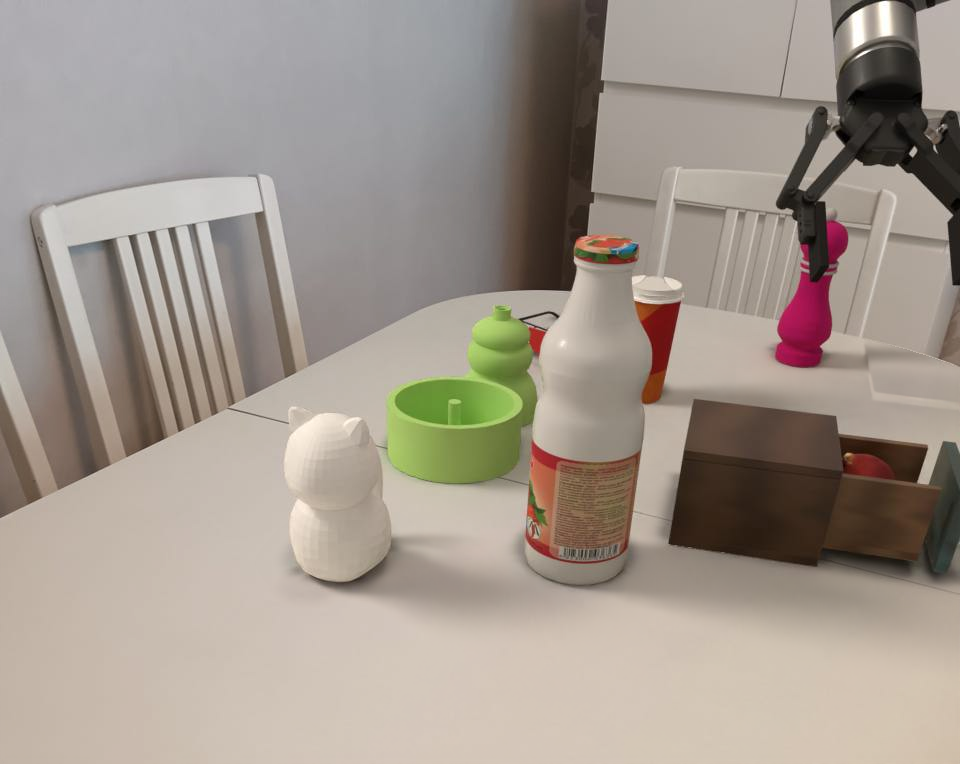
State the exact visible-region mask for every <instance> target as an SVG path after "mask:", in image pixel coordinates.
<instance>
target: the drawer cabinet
mask: <svg viewBox="0 0 960 764" xmlns="http://www.w3.org/2000/svg"><path fill="white" fill-rule="evenodd" d="M689 416H690V417H689V422H688V427H687V432H686V437H685V442H684V447H683V453H682V459H681V465H680V470H679V471H680V472H679V477H678V482H677V489H676V495H675V501H674V507H673V512H672V519H671V524H670V530H669V537H668V542H667V545H668V544H670V545H669V546H674V545H677V546H676V547H681V546H684V547H683V548H688V547H691V548H690V549H695V548H696V549H695V550H701V549H703V551H708V550H709V552H715V551H716V553H721V552H724V553H723V554H728V553H729V555H734V556H735V555H736V556H741V555H743V557H749V558H755V557H756V559H760V560H761V559H762V560H768V561H769V560H770V561H775V562H782V563H789V564H796V565H803V566H808V567H818V565H819V563H820V558H821V555H822V550H823V548H822V547H823V544H824V540H825V536H826V533H827V529H828V526H829V522H830V518H831V515H832V511H833V507H834V504H835V500H836V496H837V493H838V489H839V485H840V482H841V478H842V474H843V464H842V457H841V449H840V441H839V434H840V433H839V426H838V418H837V415H833V414H832V415H831V414H824V413H814V412H807V411H799V410H790V409H782V408H775V407H773V408H772V407H767V406H766V407H765V406H759V405H758V406H757V405H749V404H741V403H734V402H726V401H716V400H709V399H701V398H700V399H699V398H693V401H692V405H691V411H690V415H689Z"/></svg>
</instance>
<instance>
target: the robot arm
mask: <svg viewBox="0 0 960 764" xmlns="http://www.w3.org/2000/svg"><path fill="white" fill-rule="evenodd" d="M949 1H951V0H829V2H830V13H831V14H830V15H831V27H832V39H833V41H832V42H833V56H834V73H835V74H834V75H835V79H836V80H835V81H836V84H835V89H836V92H835V93H836V107H837V115H836V114H829V112H828V109H827V107H825V106H823V105H819V106H817V107H816V108H815V109H814V111H813V112H812V115H811V117H810V119H809V120H808V122H807V125H806V126H805V132H804V133H805V135H804V145H802V149H801V150H800V152H799V154H798V157H797V159H796V160H795V162H794V165H793V167H792V168H791V171H790V172H789V175H788V177H787V178H786V180H785V183H784V185H783V186H782V189H781V191H780V193H779V195H778V197H777V199H776V201H775V206H776V208H777V209H778V210H781V211H784V210H786V209H788V210H791V211H792V213H791V218H792V219H793V221H795V222H797V224H796V225H797V240H798V242H799V245H800V244H801V245H808V255H809V273H810V282H818V281H819V280H820V279H821V277H822V276H823V275H824V273H825V272H826V270H827V269H828V268H829V254H828V237H827V221H826V209H827V207H826V206H827V205H826V201H825V200H824V201H823V200H820V199H821V198H822V197H823V196H824V195H825V194H826V192H827V191H828V190H829V189H830V188H831V187H832V186H833V185H834V184H835V182H837V180H838V179H839V178H841V176H842V174H843V173H845V172H846V171H847V169H848V168H849V167H850V166H851V165H852V164H853V163H854V162H855V161H857V162H859V163H861V164H862V166H863V167H872V166H877V165H879V166H883V167H889V168H890V167H892V168H893V167H896V166H897V165H898V166H899V167H900V169H902V170H903V171H904V172H905V174H909V175H910V174H912V175H913V176H914V177H915V178H916V179H917V180H918V181H919V183H921V184H922V185H923V186H924V187H925V188H926V189H927V190H928V191H929V192H930V194H931V195H933V196H934V197H935V198H936V199H937V200H938V201H939V203H940V204H941V205H942V206H944V208H945V209H946V210H947V211H948V212H949V213H950V214H951V215H952V216H951V218H949V219H948V221H947V234H948V235H947V237H948V247H949V248H948V249H949V259H950V271H951V273H950V274H951V284H952V286H959V287H960V121H959V116H958V113H957V112H956V111H955V110H952V109H950V110H947V111H945V113H944V114H943V116H942V117H932V118H928V117H927V115H926V114H925V112H924V110H923V94H924V93H923V91H924V90H923V80H922V78H923V77H922V67H921V61H920V60H921V59H920V58H921V57H920V56H921V55H920V53H921V49H920V39H919V30H918V23H917V22H918V20H917V19H918V18H917V13H918V12H922V11H924V10H929V9H931V8H933V7H935V6H937V5H940V4H943V3H946V2H949ZM833 132H834V133H835V136H836V138H837V139H838V140H839V141H840V142H841V143H842V145H843V146H844V147H843V148H842V149H841V150H840V151H839V152H838V153H837V154H836V156H835V157H834V158H833V159H832V160H831V161H830V163H829V164H827V166H826V167H825V168H824V169H823V170H822V172H821V173H819V174H818V176H817V177H816V178H815V179H814V181H813V182H812V183H811V184H810V185H809V186H808V188H806V190H803V189H800V186H801V183H802V182H803V179H804V177H805V175H806V173H807V171H808V170H809V167H810V165H811V163H812V161H813V160H814V158H815V155H816V153H817V151H818V149H819V147H820V145H821V143H822V142H823V141H826V140H828V138H829V137H830V135H831V133H833ZM934 147H935V148H934ZM914 148H915V149H916V152H915V153H914V155H913V156H912V155H911V154H910V153H911V152H912V150H913V149H914Z"/></svg>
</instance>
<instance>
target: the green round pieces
mask: <svg viewBox="0 0 960 764" xmlns="http://www.w3.org/2000/svg"><path fill="white" fill-rule="evenodd" d="M518 319H519V318H516V317H514V316H512V307H511V306H510V305H505V304H498V305H494V306H492V315H490V316H487V317H484V318H482V319H480V320H479V321H477V322H476V323H475V325H474V326H473V327H472V329H471V338H472V339H473V340H472V341H470V343H469V345H468V347H467V353H466V354H467V355H466V356H467V362H468V365H469V366H470V370H469V371H468V372H467V373H466V375H465V376H436V377H427V378H421V379H416V380H412V381H409V382H405V383H403V384H401V385H399V386H397V387H395V388H394V389H393V390H391V391H390V392H389V394H388V395H387V397H386V403H385V404H386V441H387V443H386V445H387V457H388V460H389V462H390V463H391V465H392V466H394V467H395V469H397V470H398V471H400V472H401V473H404V474H406V475H408V476H410V477H412V478H416V479H420V480H424V481H429V482H434V483H441V484H472V483H479V482H485V481H488V480H494V479H496V478H498V477H501V476H503V475H506V474H508V473H509V472H511V471H512V470H513V469H514V468H515V467H516V466H517V465H518V463H519V461H520V453H521V438H522V437H521V436H522V427H524V426H527V425H529V424H531V423H533V420H534V413H535V408H536V404H537V401H538V391H537V386H536V383H535V380H534V379H533V377H532V376H531V374H530V372H528V370H529V369H530V367H531V365H532V363H533V358H534V356H533V349H532V348H531V345H530V344H529V340H530V331H529V326H528V324H526V323H523V322H522V321H520V320H518Z"/></svg>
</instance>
